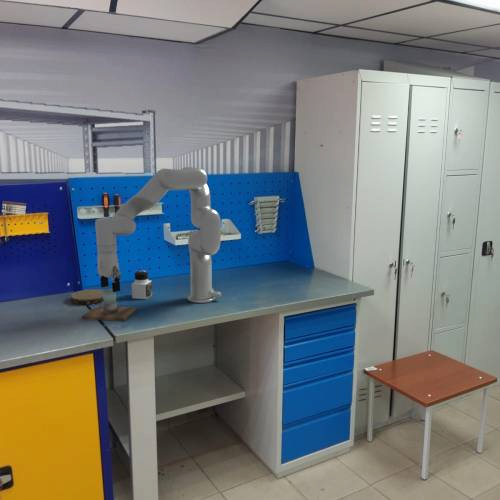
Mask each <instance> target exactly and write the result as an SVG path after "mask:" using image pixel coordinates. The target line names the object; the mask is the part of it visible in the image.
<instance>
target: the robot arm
mask: <svg viewBox="0 0 500 500" xmlns="http://www.w3.org/2000/svg"><path fill="white" fill-rule="evenodd" d="M207 183H208V173H206V172H205V170H203V169H202V168H199V167H192V166H186V167H182V168H181V169H179V168H178V169H176V168H175V169H174V168H173V169H172V168H161V169H159V170H158V171H157V172H156V173H155V174H154V175H153V176H152V177H151V178H150V179H149V180H148V181H147V182H146V183H145V185H144V186H143V187H142V188H141V189H140V190H139V191H138V192H137V193H136V194H135V195H133V196H132V197H131V198H130V199H128V200H127V201H126V202H125V203H124V204H122V205H121V206H120V207H119V209H118V210H117V211H116V212H115V213H114V214H113V215H112V217H101V218H97V219H95V222H94V225H95V226H94V227H95V235H96V247H97V273H98V275H99V279H100V280H99V281H100V286H101V287H100V288H105V287H108V286H109V279H111V281H112V282H111V287H112V288H111V289H112V290H113V292H116V293H117V292H120V291H121V278H122V277H121V275H122V273H121V271H120V265H119V259H118V255H117V252H118V248H117V247H118V245H117V237H116V236H128V235H131V234H134V232H135V230H136V228H137V224H136V222H135V221H134V219H135V218H136V217H137V216H139V214H141V213H143V212H145V211H147V210H150V209H152V208H154V207H156V205H157V204H158V203H159V202H160V200H161V199H162V198H163V197H164V196H165V195H166V194H167V192H169V191H186V190H188V192H189V195H190V203H191V204H190V221H191V224H192V225H193V226H194V227H196V228H198V229H199V230H197V229H196V230H194V231H193V232H192V233H190V235H189V237H188V239H187V240H188V241H187V243H188V250H189V261H190V263H189V264H190V265H189V266H190V267H189V268H190V294H189V295H188V296H187V301H189V302H191V303H197V304H198V303H199V304H205V303H211V302H213V301H215V300H216V297H217V298H219V297H222V292H220V291H217V290H216V291H215V290H214V287H212V286H213V285H212V284H213V282H212V281H213V280H212V279H213V277H212V276H213V275H212V272H213V271H212V270H213V269H212V265H213V264H212V256H214V255H215V254H217V253H218V251H219V250H220V248H221V247H220V246H221V234H222V233H221V231H222V229H221V228H222V227H221V225H222V223H221V221H222V220H221V217H220V214H219V213H218V211H217V210H215V209H213V208H212V207H211V193H210V188H209V186H208V184H207Z"/></svg>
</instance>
